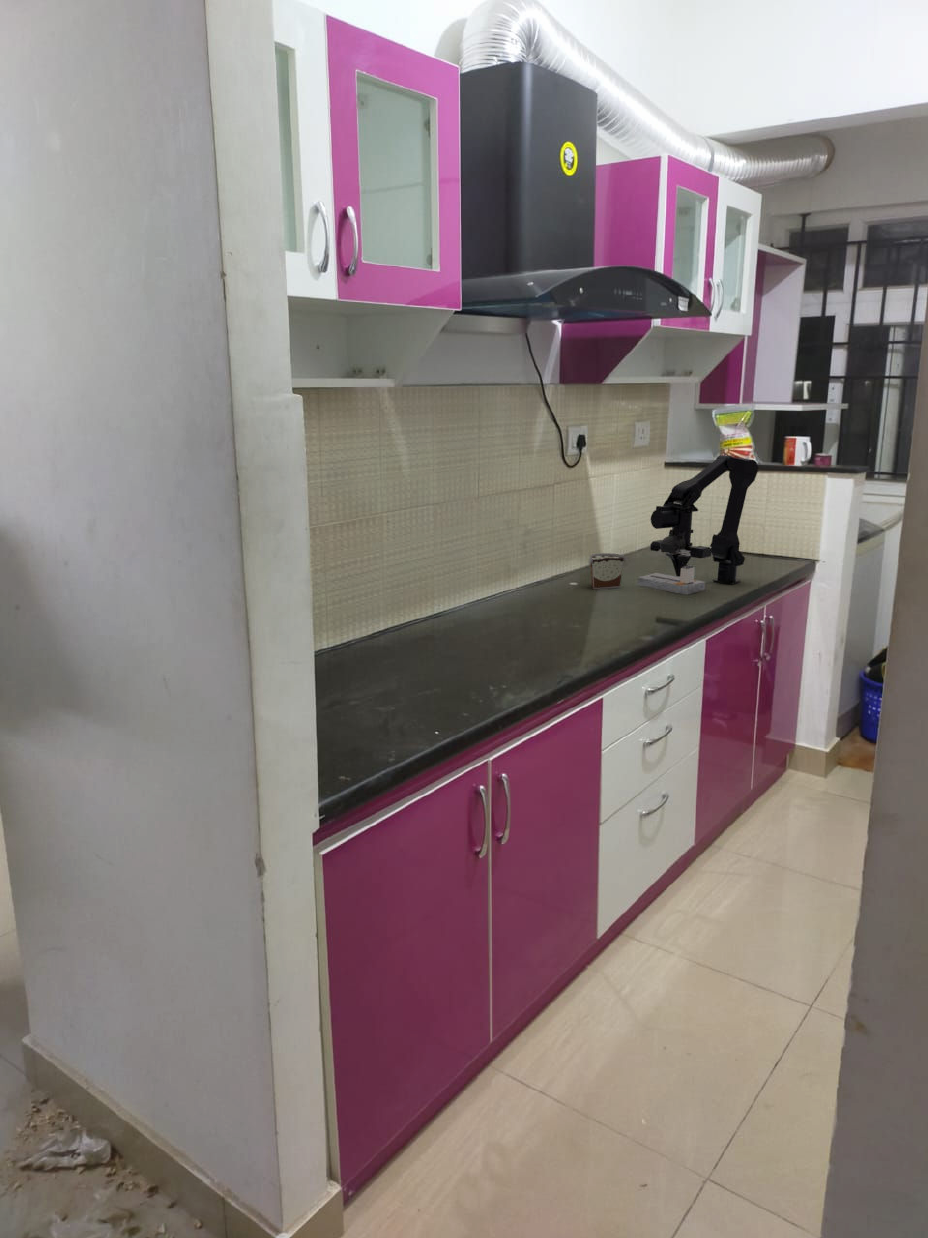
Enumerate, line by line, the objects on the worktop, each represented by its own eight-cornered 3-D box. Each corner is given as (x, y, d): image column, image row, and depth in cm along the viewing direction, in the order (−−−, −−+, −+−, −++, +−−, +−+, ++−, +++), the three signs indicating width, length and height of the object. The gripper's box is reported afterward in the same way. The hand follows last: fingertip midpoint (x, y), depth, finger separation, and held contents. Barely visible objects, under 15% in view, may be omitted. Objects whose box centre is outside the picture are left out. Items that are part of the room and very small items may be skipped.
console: (655, 580, 298) (656, 572, 297) (704, 589, 285) (705, 581, 285) (637, 585, 291) (638, 577, 290) (686, 594, 279) (687, 586, 278)
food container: (615, 582, 295) (616, 551, 292) (624, 586, 289) (626, 555, 286) (580, 585, 291) (581, 554, 288) (589, 589, 285) (590, 557, 283)
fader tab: (687, 580, 286) (688, 564, 285) (693, 581, 284) (694, 565, 283) (679, 582, 283) (681, 566, 282) (686, 583, 282) (687, 567, 280)
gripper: (641, 525, 282) (638, 575, 286) (694, 533, 270) (690, 585, 274) (661, 521, 290) (658, 570, 294) (714, 529, 277) (710, 579, 281)
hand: (678, 576), depth 286 cm, fingers closed
